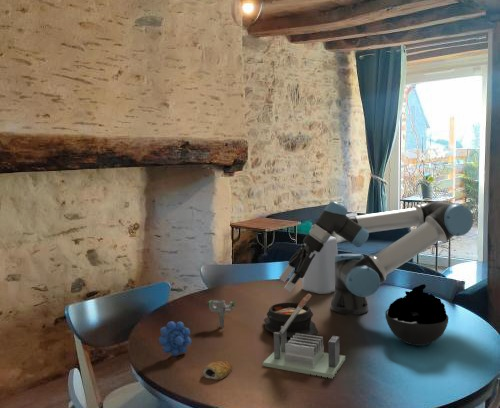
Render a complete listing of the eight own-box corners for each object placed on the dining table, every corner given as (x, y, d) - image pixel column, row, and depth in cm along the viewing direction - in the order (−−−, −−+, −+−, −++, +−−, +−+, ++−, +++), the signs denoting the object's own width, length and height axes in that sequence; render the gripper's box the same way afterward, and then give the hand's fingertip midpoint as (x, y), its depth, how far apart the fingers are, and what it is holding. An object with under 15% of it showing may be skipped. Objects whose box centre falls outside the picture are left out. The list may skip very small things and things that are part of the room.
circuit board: (263, 365, 150) (263, 362, 150) (280, 348, 162) (280, 345, 162) (332, 378, 140) (332, 374, 140) (345, 359, 153) (345, 355, 153)
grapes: (165, 365, 152) (164, 328, 151) (156, 358, 158) (154, 322, 156) (198, 355, 159) (196, 319, 158) (188, 349, 164) (186, 314, 163)
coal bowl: (417, 360, 151) (417, 301, 149) (372, 339, 169) (372, 286, 167) (461, 347, 160) (462, 291, 158) (415, 328, 178) (415, 277, 176)
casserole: (252, 324, 187) (252, 303, 186) (294, 316, 194) (294, 295, 193) (284, 347, 164) (284, 323, 163) (330, 337, 172) (330, 314, 171)
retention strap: (277, 340, 152) (274, 337, 152) (284, 333, 157) (281, 331, 157) (306, 300, 146) (302, 298, 146) (311, 295, 151) (308, 293, 151)
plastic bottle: (298, 289, 231) (297, 231, 228) (318, 283, 241) (318, 227, 238) (323, 296, 220) (323, 234, 217) (344, 289, 230) (343, 230, 227)
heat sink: (271, 361, 150) (271, 335, 149) (284, 348, 160) (284, 323, 159) (332, 372, 142) (332, 344, 141) (342, 357, 152) (341, 331, 151)
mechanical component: (234, 329, 182) (233, 303, 181) (207, 327, 184) (206, 302, 183) (235, 326, 185) (235, 300, 184) (209, 325, 187) (208, 299, 186)
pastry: (220, 365, 152) (220, 353, 151) (237, 370, 148) (237, 358, 147) (200, 377, 144) (200, 364, 144) (218, 383, 140) (218, 370, 140)
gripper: (302, 228, 195) (272, 271, 196) (315, 239, 170) (281, 288, 171) (317, 238, 196) (287, 281, 197) (332, 250, 171) (298, 299, 172)
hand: (284, 284), depth 184 cm, fingers open, 13 cm apart
